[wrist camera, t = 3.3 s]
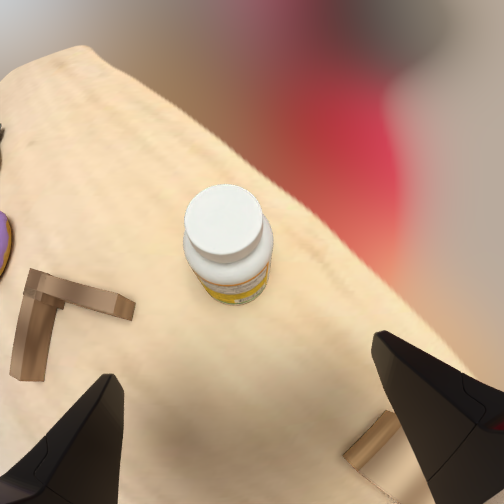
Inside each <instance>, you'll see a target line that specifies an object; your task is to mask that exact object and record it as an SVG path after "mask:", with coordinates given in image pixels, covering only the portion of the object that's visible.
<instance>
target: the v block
mask: <svg viewBox="0 0 504 504" xmlns="http://www.w3.org/2000/svg"><path fill="white" fill-rule="evenodd" d="M23 295H24V296H23V300H22V304H21V308H20V313H19V317H18V322H17V327H16V333H15V338H14V344H13V350H12V357H11V365H10V373H9V375H11V376H12V377H14V378H16V379H17V380H19V381H44V376H45V369H46V362H47V356H48V350H49V344H50V339H51V334H52V329H53V324H54V319H55V315H56V311H57V308H60V309H63V308H64V304H65V302H68V303H71V304H75V305H78V306H81V307H84V308H88V309H91V310H94V311H98V312H101V313H105V314H108V315H112V316H116V317H119V318H123V319H127V320H131V321H132V317H133V313H134V308H135V304H136V303H135V302H133V301H131V300H129V299H127V298H125V297H123V296H121V295H120V294H118V293H114V292H110V291H106V290H102V289H98V288H94V287H90V286H86V285H82V284H79V283H75V282H71V281H68V280H64V279H60V278H57V277H54V276H52V275H50V274H48V273H45V272H41V271H38V270H35V269H31V268H30V270H29V274H28V277H27V281H26V285H25V288H24V292H23Z"/></svg>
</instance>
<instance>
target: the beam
mask: <svg viewBox="0 0 504 504" xmlns="http://www.w3.org/2000/svg"><path fill="white" fill-rule="evenodd" d="M343 457H344V458H345V459H346V460H347V461H348V462H349V463H350V464H351V465H352V466H353V467H354V468H355V469H356V470H357V471H358V472H359V473H360V474H362V475H363V476H364V477H365V478H367V479H368V480H369V481H370V482H372V483H373V484H374V485H376V486H377V487H378V488H380V489H381V490H382V491H384V492H385V493H386V494H388V495H389V496H390V497H392V498H393V499H395V500H396V501H397V502H399V503H400V504H435V501H434V499H433V497H432V494H431V492H430V489H429V487H428V485H427V482H426V480H425V477H424V475H423V473H422V470H421V468H420V466H419V463H418V461H417V459H416V457H415V454H414V452H413V450H412V448H411V446H410V443H409V441H408V439H407V437H406V435H405V433H404V430H403V428H402V426H401V424H400V422H399V420H398V418H397V416H396V413H393V412H390V411H387V410H386V411H385V412H384V413H383V415H382V416H381V417H380V418H379V419H378V420H377V421H376V422H375V423H374V424H373V426H372V427H371V428H370V429H369V430H368V431H367V432H366V433H365V434H364V435H363V436H362V437H361V438H360V439H359V440H358V441H357V442H356V443H355V444H354V445H353V446H352V447H351V448H350V449H349V450H348V451H347V452H346V453H345V454H344V455H343Z"/></svg>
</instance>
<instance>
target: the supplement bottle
mask: <svg viewBox="0 0 504 504" xmlns="http://www.w3.org/2000/svg"><path fill="white" fill-rule="evenodd" d="M184 225H185V232H184V237H183V248H184V253H185V256H186V259H187V261H188V263H189V265H190V266H191V268H192V270H193V271H194V273H195V274H196V275H197V277H198V279H199V280H200V282H201V283H202V285H203V286H204V288H205V289H206V291H207V292H208V293H209V294H210V295H211V296H212V297H213V298H214V299H215V300H217V301H219V302H221V303H224V304H228V305H241V304H245V303H248V302H250V301H252V300H254V299H255V298H256V297H258V296H259V295H260V294H261V293H262V291H263V290H264V288H265V287H266V284H267V282H268V278H269V272H270V264H271V257H272V251H273V232H272V229H271V226H270V223H269V221H268V220H267V218H266V217H265V215H264V214H263V213H262V209H261V206H260V204H259V202H258V200H257V199H256V198H255V197H254V195H253V194H251V193H250V192H249V191H247V190H246V189H244V188H242V187H239V186H236V185H230V184H221V185H215V186H211V187H209V188H206V189H204V190H203V191H201V192H200V193H198V194H197V195H196V196H195V197H194V198H193V199H192V201H191V202H190V203H189V205H188V207H187V209H186V213H185V217H184Z"/></svg>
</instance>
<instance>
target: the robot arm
mask: <svg viewBox="0 0 504 504" xmlns="http://www.w3.org/2000/svg"><path fill="white" fill-rule="evenodd" d="M371 354H372V358H373V360H374V363H375V366H376V368H377V371H378V374H379V377H380V380H381V382H382V385H383V388H384V391H385V393H386V395H387V397H388V399H389V401H390V403H391V405H392V407H393V409H394V411H395V413H396V416H397V418H398V420H399V422H400V424H401V426H402V428H403V430H404V433H405V435H406V437H407V439H408V441H409V443H410V446H411V448H412V450H413V452H414V454H415V457H416V459H417V461H418V463H419V466H420V468H421V470H422V473H423V475H424V477H425V480H426V482H427V485H428V487H429V489H430V492H431V494H432V497H433V499H434V501H435V504H504V392H502V391H500V390H497V389H495V388H493V387H490V386H488V385H486V384H484V383H482V382H480V381H478V380H476V379H474V378H472V377H470V376H468V375H466V374H464V373H461V371H459V370H457V369H455V368H453V367H451V366H450V365H448V364H446V363H444V362H442V361H441V360H439V359H437V358H435V357H433V356H432V355H430V354H428V353H426V352H424V351H422V350H421V349H419V348H417V347H415V346H413V345H412V344H410V343H408V342H406V341H404V340H403V339H401V338H399V337H397V336H395V335H393V334H392V333H390V332H388V331H386V330H383V331H380V332H376V333H375V334H374V336H373V342H372V348H371ZM123 430H124V390H123V388H122V386H121V384H120V383H119V381H118V379H117V378H116V376H115V375H114V374H103V375H101V376H100V377H99V378H98V380H97V381H96V382H95V383H94V384H93V385H92V386H91V387H90V388H89V389H88V390H87V391H86V392H85V393H84V394H83V395H82V396H81V397H80V398H79V399H78V401H77V402H76V403H75V404H74V405H73V406H72V407H71V408H70V409H69V410H68V411H67V412H66V413H65V414H64V415H63V417H62V418H61V419H60V420H59V421H58V422H57V423H56V424H55V425H54V426H53V427H52V428H51V429H50V431H49V432H48V433H47V434H46V436H44V437H43V438H42V439H41V440H40V441H39V442H38V443H37V444H36V445H35V446H34V448H33V449H32V450H31V451H29V452H28V453H27V454H26V455H25V456H24V457H23V458H22V459H21V460H20V461H19V462H18V463H16V464H15V465H14V466H13V467H12V468H11V469H10V470H9V471H7V472H6V473H5V474H4V475H2V476H1V477H0V504H118V486H119V472H120V460H121V450H122V440H123Z"/></svg>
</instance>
